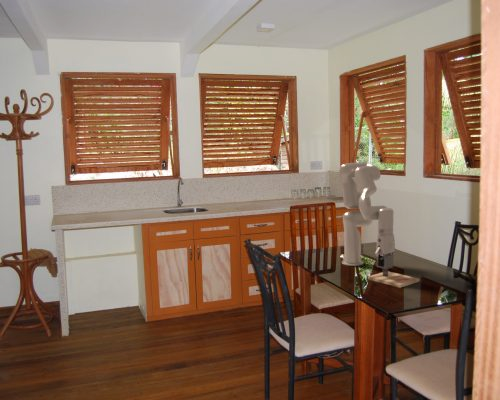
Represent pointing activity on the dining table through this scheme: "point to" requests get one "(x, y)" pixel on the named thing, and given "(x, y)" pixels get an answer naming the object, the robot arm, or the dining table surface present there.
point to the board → (393, 279)
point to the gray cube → (387, 261)
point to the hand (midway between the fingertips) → (384, 264)
